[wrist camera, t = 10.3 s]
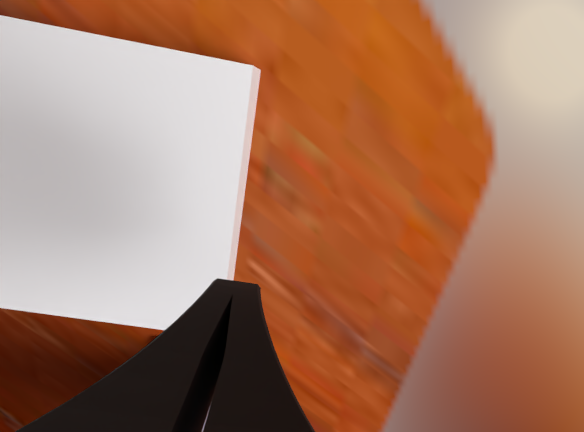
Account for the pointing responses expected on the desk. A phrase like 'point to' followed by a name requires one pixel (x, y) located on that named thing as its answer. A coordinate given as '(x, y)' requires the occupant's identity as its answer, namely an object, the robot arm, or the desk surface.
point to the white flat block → (117, 174)
